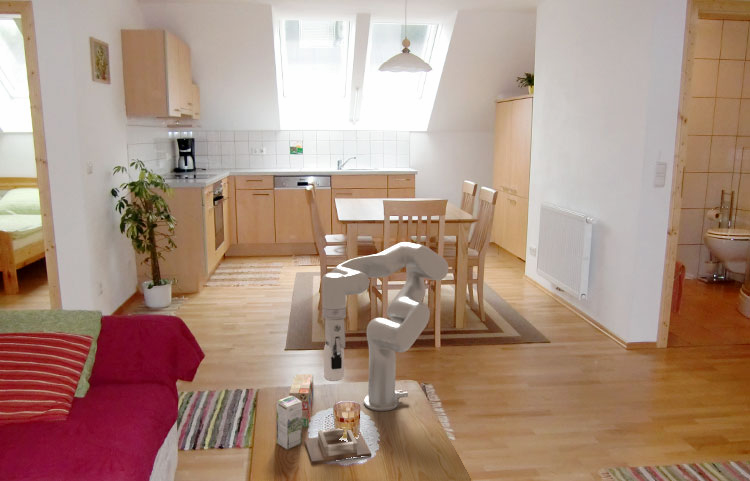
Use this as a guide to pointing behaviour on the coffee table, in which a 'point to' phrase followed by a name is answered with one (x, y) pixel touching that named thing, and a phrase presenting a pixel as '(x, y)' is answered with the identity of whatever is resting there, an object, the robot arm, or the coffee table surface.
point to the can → (328, 371)
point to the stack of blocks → (303, 395)
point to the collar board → (335, 446)
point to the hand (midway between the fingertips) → (334, 363)
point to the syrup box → (289, 422)
